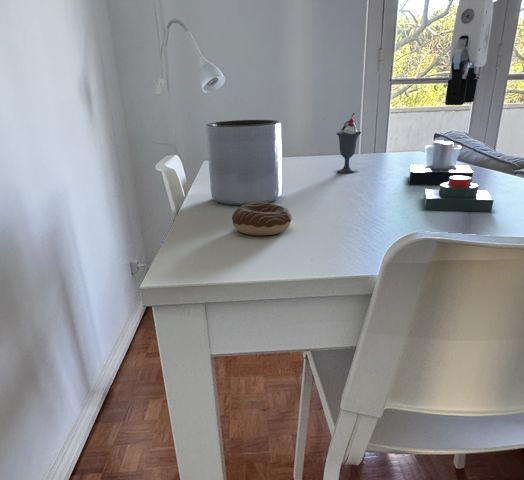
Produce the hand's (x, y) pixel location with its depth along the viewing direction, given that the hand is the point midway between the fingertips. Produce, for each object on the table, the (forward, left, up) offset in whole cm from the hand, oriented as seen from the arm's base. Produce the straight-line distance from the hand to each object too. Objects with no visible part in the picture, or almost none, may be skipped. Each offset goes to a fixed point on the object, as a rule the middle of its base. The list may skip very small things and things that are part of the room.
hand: (459, 103), depth 89 cm
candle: (-1, -36, -18) cm, 41 cm away
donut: (+32, +27, -18) cm, 46 cm away
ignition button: (-2, +4, -14) cm, 15 cm away
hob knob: (0, -22, -15) cm, 27 cm away
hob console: (0, -22, -18) cm, 29 cm away
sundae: (+24, -35, -18) cm, 46 cm away
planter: (+42, +3, -18) cm, 46 cm away
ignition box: (-2, +4, -18) cm, 18 cm away
